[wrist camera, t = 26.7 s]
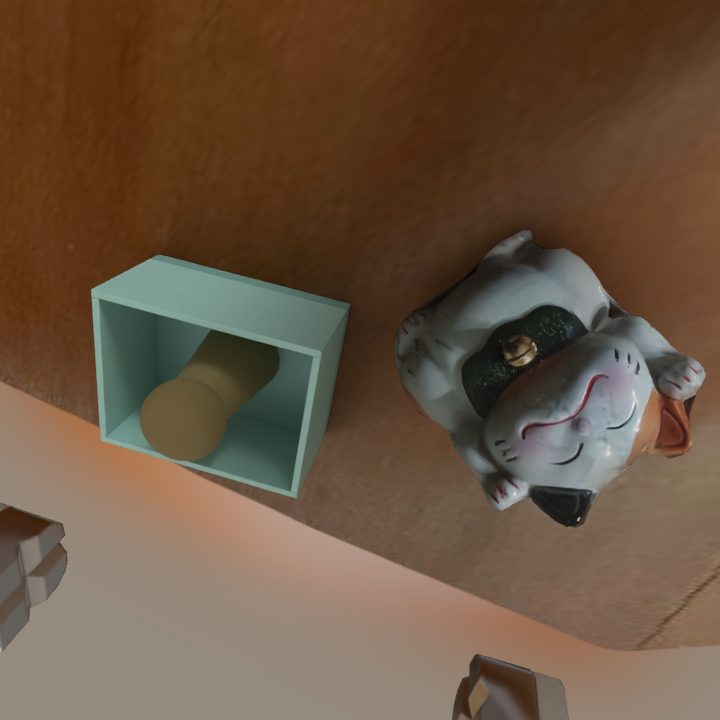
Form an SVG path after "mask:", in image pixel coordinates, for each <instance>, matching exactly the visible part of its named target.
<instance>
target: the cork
mask: <svg viewBox="0 0 720 720" xmlns="http://www.w3.org/2000/svg"><path fill="white" fill-rule="evenodd" d="M279 361H280V357H279V353H278V349H277V346H273V345H270V344H266V343H262V342H259V341H255V340H251V339H247V338H244V337H240V336H236V335H233V334H229V333H225V332H222V331H218V330H214V329H211V330H210V331H209V333H208V334H207V336H206V337H205V338H204V340H203V341H202V343H201V344H200V345H199V347H198V348H197V350H196V351H195V353H194V354H193V355H192V357H191V358H190V360H189V361H188V362H187V364H186V365H185V367H184V368H183V370H182V371H181V372H180V374H179V375H178V377H177V378H176V379H173V380H170V381H168V382H165V383H163V384H161V385H159V386H158V387H156V388H155V389H154V390H153V391H152V392H151V393H150V394H149V395H148V396H147V397H146V399H145V401H144V403H143V405H142V408H141V411H140V427H141V430H142V433H143V435H144V437H145V439H146V440H147V441H148V443H149V444H150V446H152V447H153V448H154V449H155V450H156V451H157V452H158V453H160V454H162V455H164V456H166V457H168V458H170V459H174V460H177V461H192V460H196V459H199V458H202V457H204V456H206V455H207V454H209V453H210V452H211V451H212V450H214V449H215V448H216V447H217V446H218V444H219V443H220V441H221V439H222V437H223V435H224V433H225V430H226V427H227V420H228V419H229V418H230V417H231V416H232V415H233V414H235V413H236V412H237V411H238V410H239V409H240V408H241V407H242V406H243V405H245V404H246V403H247V402H248V401H249V400H250V399H251V398H252V397H253V396H255V395H256V394H257V393H258V392H259V391H260V390H261V389H262V388H263V387H265V386H266V385H267V384H268V383H269V382H270V381H271V380H272V379H273V378H274V377H275V375H276V373H277V371H278V369H279Z"/></svg>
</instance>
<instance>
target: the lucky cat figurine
mask: <svg viewBox="0 0 720 720" xmlns="http://www.w3.org/2000/svg"><path fill="white" fill-rule="evenodd" d="M394 350H395V359H396V366H397V370H398V373H399V376H400V379H401V383H402V386H403V388H404V391H405V393H406V395H407V397H408V399H409V400H410V401H411V402H412V404H413V405H414V407H415V408H416V410H417V411H418V412H419V413H420V414H422V415H424V416H425V417H427V418H429V419H431V420H433V421H435V422H437V423H438V424H440V425H441V426H442V427H444V428H445V429H446V430H447V432H448V433H449V435H450V439H451V440H452V441H453V445H454V447H455V450H457V451H458V452H459V454H460V456H461V457H462V458H463V460H464V461H465V463H466V464H467V465H468V466H469V468H470V469H471V471H472V472H473V473H474V475H475V476H476V478H477V479H478V481H479V482H480V485H481V487H482V489H483V491H484V493H485V495H486V498H487V500H488V502H489V504H490V505H491V506H492V507H493V508H494V509H496V510H503V509H505V508H509V507H510V506H511V504H514V503H516V502H518V501H520V500H522V499H524V498H527V497H530V498H532V500H533V502H534V503H535V504H536V505H538V507H539V508H540V509H541V510H542V511H544V512H545V513H546V514H548V515H549V516H550V517H551V518H552V519H554V520H555V521H556V522H558V523H560V524H562V525H564V526H565V527H568V526H571V527H578V526H581V525H582V524H584V522H585V519H586V516H587V513H588V511H589V510H590V508H591V506H592V504H593V503H594V501H595V499H596V498H597V496H598V494H599V492H600V490H601V489H602V488H603V487H604V486H606V485H608V484H610V483H611V482H612V481H613V480H615V479H616V478H617V477H618V476H620V475H621V474H622V472H623V471H624V470H625V469H626V468H627V467H629V466H631V465H632V464H633V462H634V461H635V460H636V459H637V458H638V457H639V456H640V454H641V453H644V452H648V455H647V457H648V456H652V455H655V456H661V457H662V456H665V457H667V458H673V457H677V456H681V455H683V454H684V453H686V452H688V451H689V450H690V449H691V448H692V445H693V439H692V437H691V436H690V417H689V414H690V411H691V408H692V404H693V402H694V399H695V396H696V394H697V392H698V389H699V388H700V386H701V384H702V382H703V380H704V379H705V376H706V373H705V372H704V367H702V366H701V364H700V363H699V362H698V361H696V360H694V359H692V358H690V357H688V356H686V355H683V354H682V353H680V352H678V351H677V350H675V349H674V348H673V347H672V346H671V345H670V344H669V343H668V342H667V340H666V339H664V338H663V337H662V335H661V334H660V333H659V332H658V331H656V329H655V328H653V327H650V324H649V323H648V322H647V321H646V320H644V319H643V318H641V317H638V316H635V317H634V316H633V315H631V314H630V313H628V312H627V311H625V310H624V309H623V308H622V307H621V306H620V305H619V304H618V303H617V302H616V301H614V300H613V299H612V298H611V297H610V296H609V295H608V293H607V292H606V291H605V290H604V289H603V287H602V285H601V283H600V281H599V280H598V278H597V276H596V274H595V273H594V272H593V270H592V269H591V268H590V266H589V265H588V264H587V263H586V262H585V261H584V260H583V259H582V258H581V257H578V256H576V255H575V254H574V253H572V252H571V251H569V250H568V249H567V248H566V247H561V248H560V249H545V248H543V247H540V246H538V245H537V244H536V243H535V242H534V240H533V236H532V231H530V230H527V231H525V230H523V231H521V232H519V233H517V234H515V235H513V236H511V237H509V238H507V239H505V240H503V241H501V242H499V243H498V244H497V245H496V246H495V247H494V248H493V249H491V250H490V251H489V252H488V253H487V254H486V256H485V257H484V258H483V259H482V261H481V262H480V263H479V264H478V265H477V267H476V268H474V269H473V270H472V271H471V272H470V273H469V274H468V275H467V276H466V277H464V278H463V279H462V280H461V281H460V282H458V283H456V284H455V285H453V286H452V287H450V288H449V289H447V290H446V291H444V292H443V293H441V294H440V295H438V296H437V297H435V298H434V299H432V300H431V301H429V302H428V303H426V304H424V305H423V306H421V307H419V308H417V309H416V310H414V311H413V312H412V314H410V315H409V316H408V317H407V318H406V319H405V320H404V321H403V322H402V323H401V325H400V327H399V330H398V331H397V334H396V340H395V344H394Z"/></svg>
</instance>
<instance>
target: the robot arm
mask: <svg viewBox="0 0 720 720" xmlns="http://www.w3.org/2000/svg"><path fill="white" fill-rule="evenodd" d="M64 536H65V533H64V527H63V524H62V523H59V522H56V521H53V520H50V519H47V518H44V517H41V516H38V515H35V514H32V513H29V512H26V511H23V510H20V509H17V508H15V507H12V506H9V505H6V504H3V503H0V653H1V652H3V650H4V649H5V648H6V647H7V646H8V645H9V643H10V642H11V641H12V640H13V639H14V638H15V636H16V635H17V634H18V633H19V632H20V631H21V629H22V628H23V627H24V626H25V625H26V624H27V622H28V621H29V616H30V608H31V607H33V606H35V605H37V604H39V603H41V602H43V601H46V600H47V599H48V598H49V596H50V595H51V594H52V593H53V592H54V590H55V589H56V588H57V586H58V584H59V582H60V581H61V579H62V577H63V575H64V573H65V570H66V565H67V561H68V560H67V552H66V550H65V549H64V548H63V546H62V545H61V544H60V543H59V542H60V540H61V539H62V538H63V537H64ZM452 720H569V717H568V710H567V702H566V695H565V688H564V686H563V684H562V682H561V680H559V679H557V678H554V677H550V676H547V675H543V674H540V673H537V672H533V671H531V670H530V669H527V668H523V667H520V666H517V665H514V664H510V663H507V662H503V661H500V660H496V659H493V658H490V657H486V656H483V655H480V654H476V655H475V656H474V657H473V659H472V660H471V662H470V664H469V676H468V677H465V678H463V679H462V681H461V683H460V685H459V688H458V690H457V694H456V698H455V702H454V706H453V714H452Z"/></svg>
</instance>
